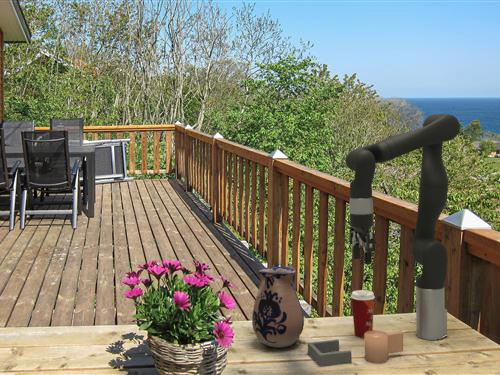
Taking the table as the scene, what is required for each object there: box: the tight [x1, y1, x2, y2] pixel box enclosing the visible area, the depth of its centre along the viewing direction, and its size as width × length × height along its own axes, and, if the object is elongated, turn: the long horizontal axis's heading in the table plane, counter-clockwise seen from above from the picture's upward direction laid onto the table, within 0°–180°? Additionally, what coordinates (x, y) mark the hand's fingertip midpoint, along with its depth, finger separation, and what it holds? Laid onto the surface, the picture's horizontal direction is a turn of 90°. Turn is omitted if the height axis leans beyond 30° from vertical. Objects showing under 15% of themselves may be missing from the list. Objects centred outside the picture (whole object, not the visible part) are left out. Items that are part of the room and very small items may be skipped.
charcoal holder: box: [307, 339, 353, 368], centre depth 185 cm, size 10×11×4 cm
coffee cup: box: [350, 289, 375, 339], centre depth 204 cm, size 8×8×15 cm
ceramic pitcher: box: [251, 265, 305, 349], centre depth 200 cm, size 18×21×25 cm
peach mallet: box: [364, 329, 404, 365], centre depth 183 cm, size 12×7×8 cm, turn 107°
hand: (362, 261), depth 191 cm, fingers open, 8 cm apart
